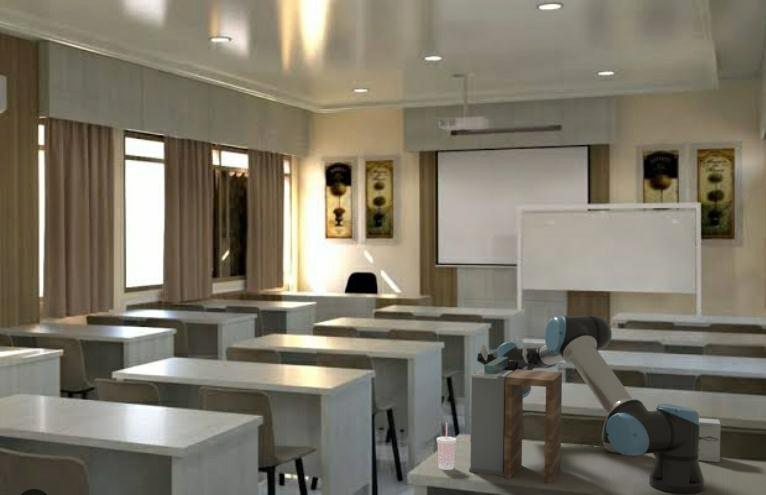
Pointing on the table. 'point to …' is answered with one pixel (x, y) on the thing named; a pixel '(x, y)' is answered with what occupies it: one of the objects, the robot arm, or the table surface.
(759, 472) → the table surface
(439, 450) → the beverage cup
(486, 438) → the pedestal
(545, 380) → the riser
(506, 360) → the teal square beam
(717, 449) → the supplement box
